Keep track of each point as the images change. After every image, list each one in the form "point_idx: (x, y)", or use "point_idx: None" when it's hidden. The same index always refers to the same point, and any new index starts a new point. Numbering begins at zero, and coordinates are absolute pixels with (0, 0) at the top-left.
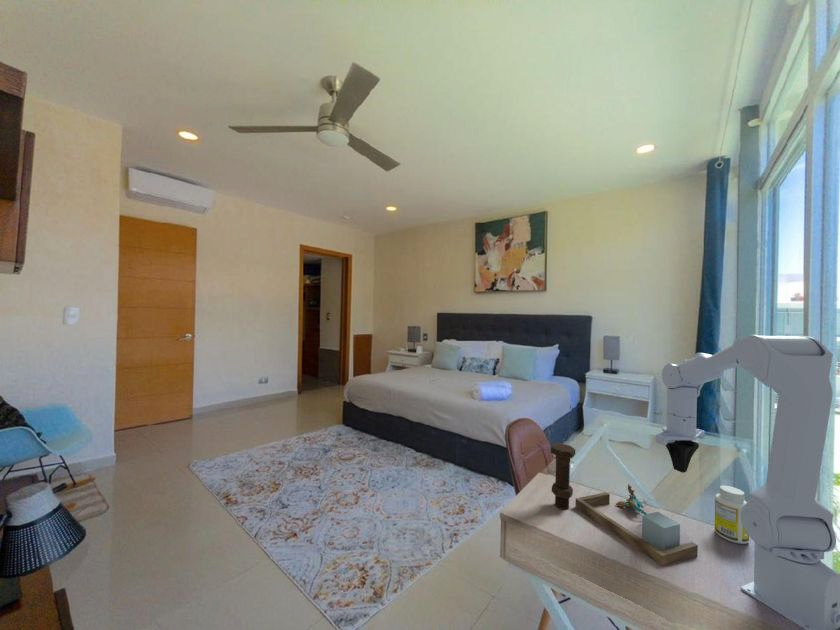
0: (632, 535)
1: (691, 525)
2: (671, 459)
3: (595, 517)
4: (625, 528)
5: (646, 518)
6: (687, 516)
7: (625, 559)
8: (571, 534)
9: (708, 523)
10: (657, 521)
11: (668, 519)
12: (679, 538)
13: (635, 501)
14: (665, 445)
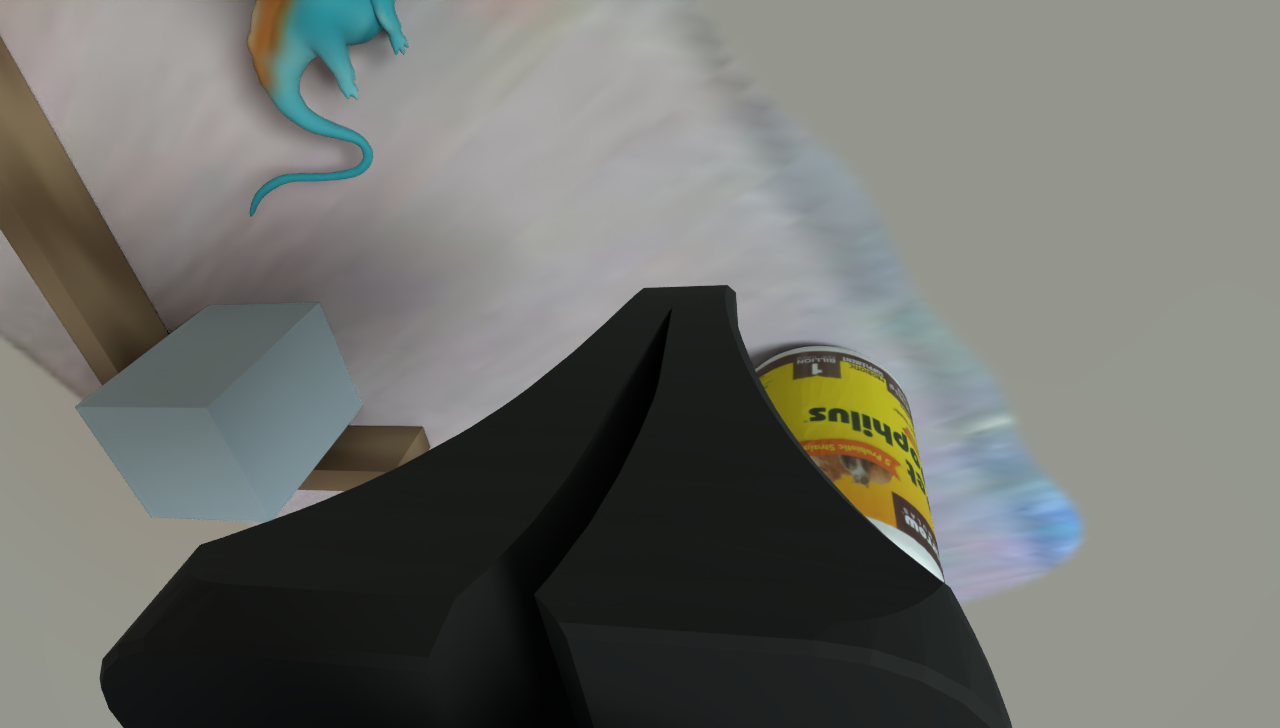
0: (85, 350)
1: (683, 260)
2: (573, 353)
3: None
4: (68, 293)
5: (96, 426)
6: (784, 166)
7: (73, 359)
8: None
9: (846, 277)
10: (142, 473)
11: (226, 480)
12: (316, 461)
13: (297, 40)
14: (309, 512)
